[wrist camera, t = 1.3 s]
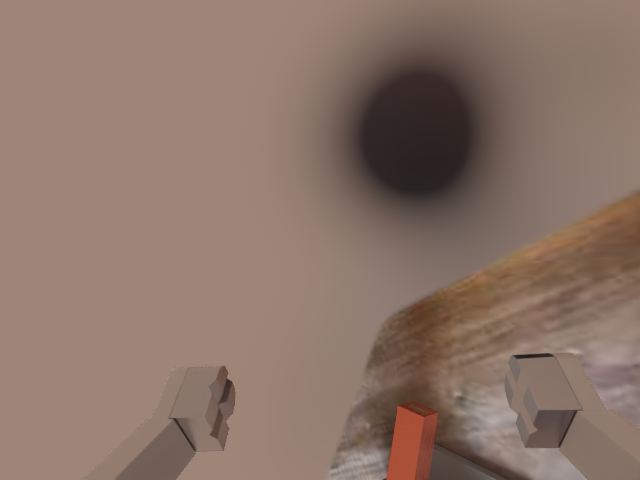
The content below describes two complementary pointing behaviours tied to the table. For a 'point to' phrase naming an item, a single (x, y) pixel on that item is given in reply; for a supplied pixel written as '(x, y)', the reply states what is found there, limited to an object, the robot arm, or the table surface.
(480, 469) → the slate plate
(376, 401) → the table surface
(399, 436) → the valve lever
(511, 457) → the table surface
